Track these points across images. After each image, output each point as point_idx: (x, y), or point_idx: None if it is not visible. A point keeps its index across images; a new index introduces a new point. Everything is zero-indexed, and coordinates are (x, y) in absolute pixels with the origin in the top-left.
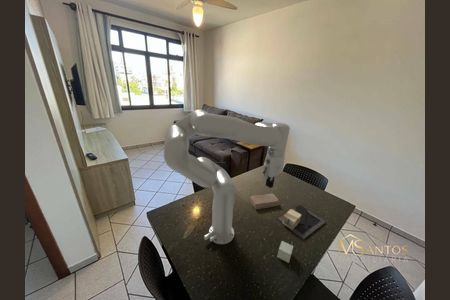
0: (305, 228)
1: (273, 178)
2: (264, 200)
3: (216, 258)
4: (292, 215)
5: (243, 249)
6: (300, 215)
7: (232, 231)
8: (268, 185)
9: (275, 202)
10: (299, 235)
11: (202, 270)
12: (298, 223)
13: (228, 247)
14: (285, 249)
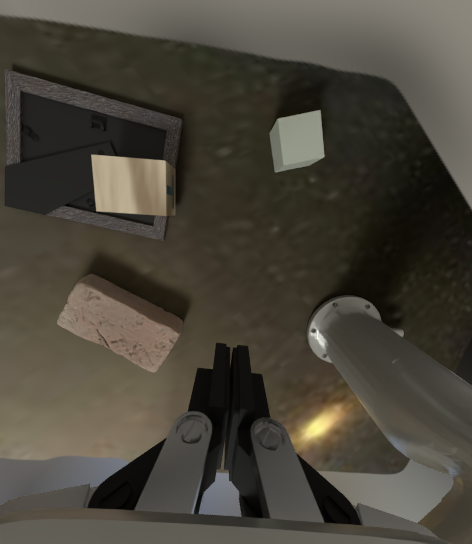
0: (123, 134)
1: (211, 439)
2: (130, 322)
3: (410, 287)
4: (133, 186)
5: (347, 254)
6: (101, 156)
7: (324, 312)
8: (261, 381)
9: (98, 286)
10: (178, 138)
11: (452, 289)
12: None
13: (367, 286)
14: (311, 136)
